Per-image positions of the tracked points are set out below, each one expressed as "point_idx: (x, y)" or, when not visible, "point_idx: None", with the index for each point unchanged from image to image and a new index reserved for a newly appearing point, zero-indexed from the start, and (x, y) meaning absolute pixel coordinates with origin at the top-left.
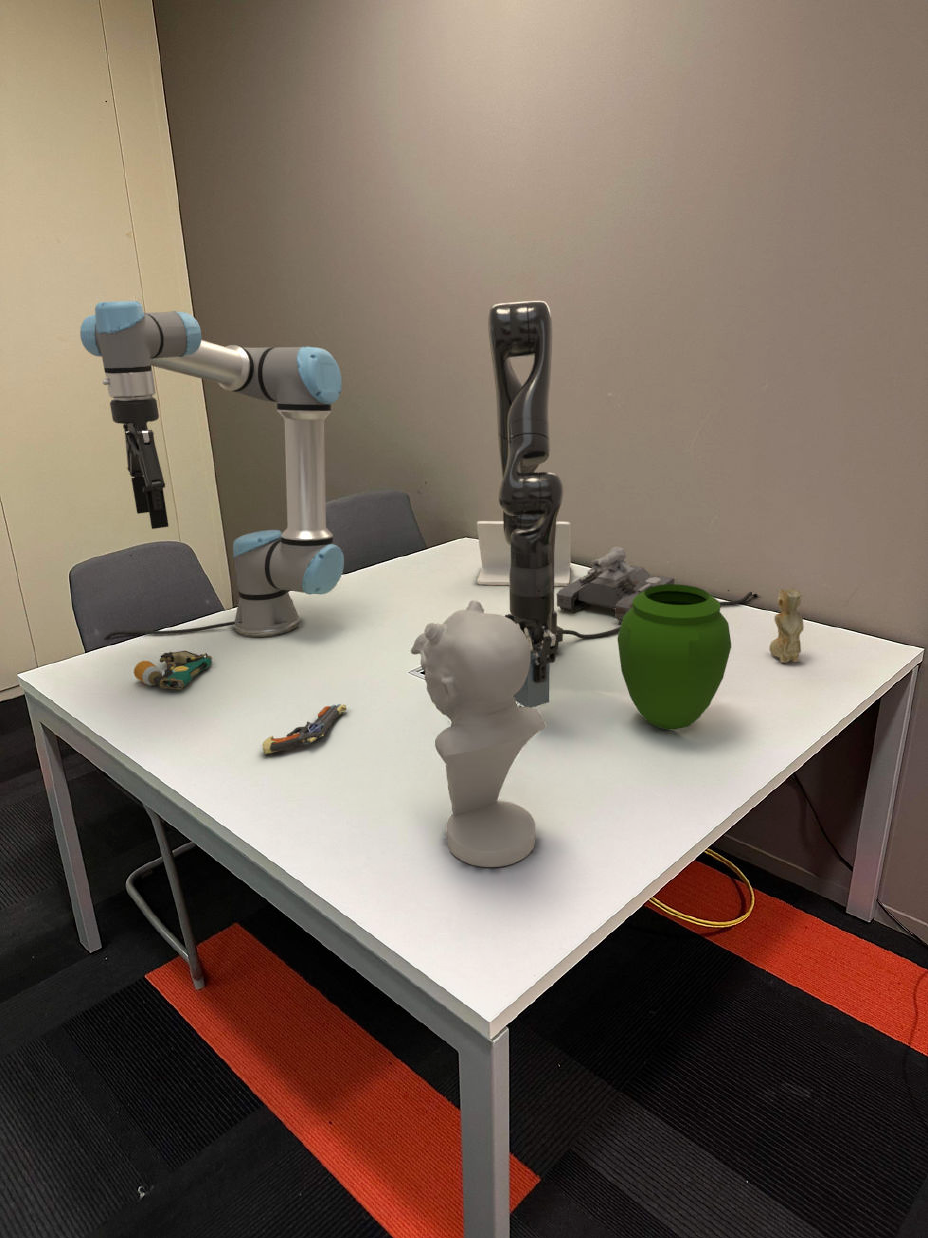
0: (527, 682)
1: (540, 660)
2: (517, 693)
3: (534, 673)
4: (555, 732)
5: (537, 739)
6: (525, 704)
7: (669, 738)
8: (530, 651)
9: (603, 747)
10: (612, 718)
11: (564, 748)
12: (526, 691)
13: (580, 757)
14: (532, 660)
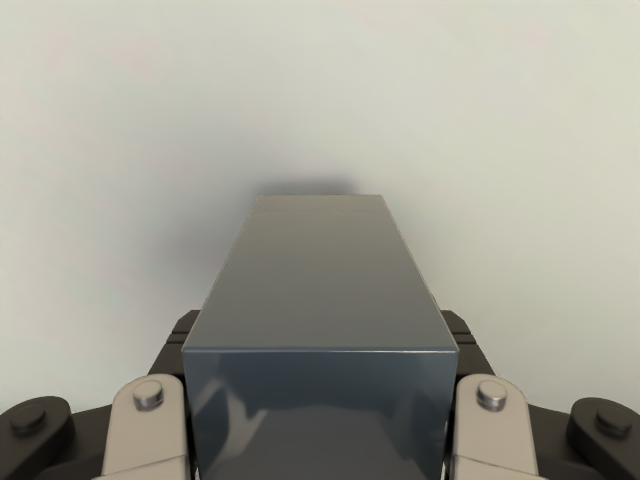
0: (231, 249)
1: (44, 429)
2: (347, 209)
3: None
4: (206, 243)
5: (189, 160)
6: (273, 199)
7: None
8: (168, 458)
9: (44, 308)
10: None
11: (86, 202)
12: (252, 223)
13: (5, 211)
14: (191, 389)
